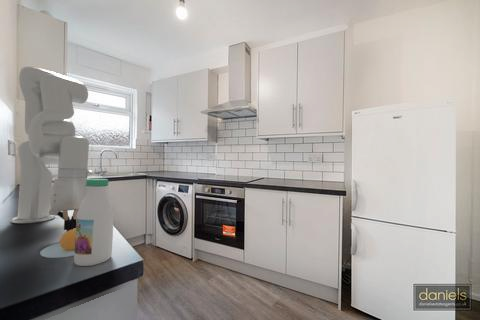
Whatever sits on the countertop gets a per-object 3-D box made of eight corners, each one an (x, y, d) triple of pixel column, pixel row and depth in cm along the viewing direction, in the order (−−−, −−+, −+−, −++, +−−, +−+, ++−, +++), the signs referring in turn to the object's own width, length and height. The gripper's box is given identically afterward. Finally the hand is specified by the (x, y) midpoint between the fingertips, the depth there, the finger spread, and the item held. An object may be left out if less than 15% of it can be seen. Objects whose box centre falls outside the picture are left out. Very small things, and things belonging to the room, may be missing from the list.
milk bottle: (107, 251, 58) (111, 177, 59) (115, 260, 53) (119, 179, 53) (71, 258, 53) (76, 178, 53) (76, 270, 47) (81, 180, 48)
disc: (41, 245, 60) (41, 245, 60) (96, 236, 69) (96, 236, 69) (39, 262, 50) (39, 261, 50) (103, 249, 59) (103, 249, 59)
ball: (58, 253, 57) (59, 232, 59) (84, 248, 61) (84, 229, 63) (60, 251, 54) (60, 229, 56) (86, 246, 57) (86, 225, 59)
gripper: (98, 173, 77) (95, 225, 76) (41, 173, 67) (38, 232, 66) (102, 175, 71) (99, 230, 71) (41, 175, 61) (37, 239, 61)
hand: (69, 231), depth 69 cm, fingers closed
